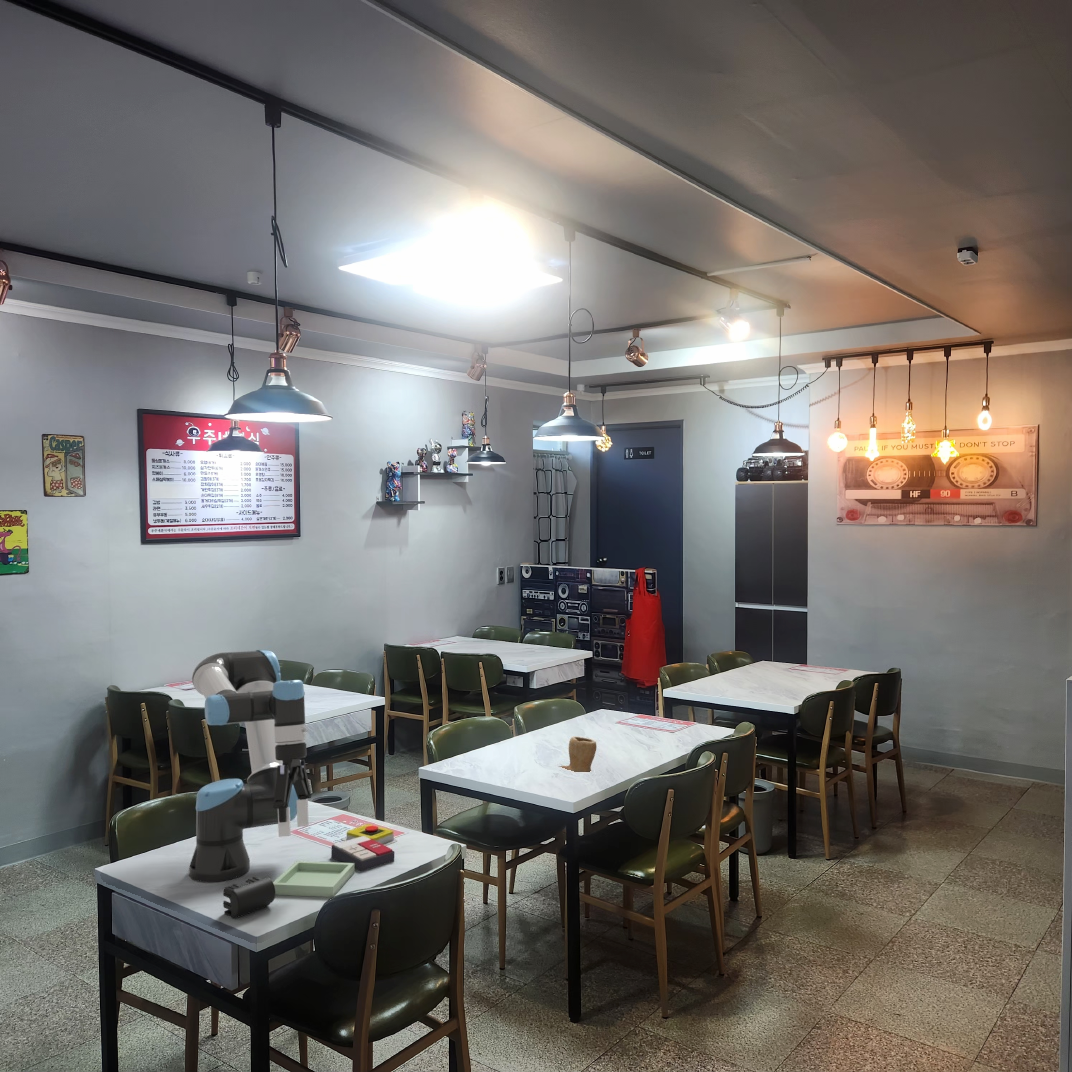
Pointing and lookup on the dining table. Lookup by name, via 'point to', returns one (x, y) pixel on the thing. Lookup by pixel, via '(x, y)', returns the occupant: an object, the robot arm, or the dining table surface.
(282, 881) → the sage tray
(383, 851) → the button switch box
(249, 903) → the end cap
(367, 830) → the emergency button
